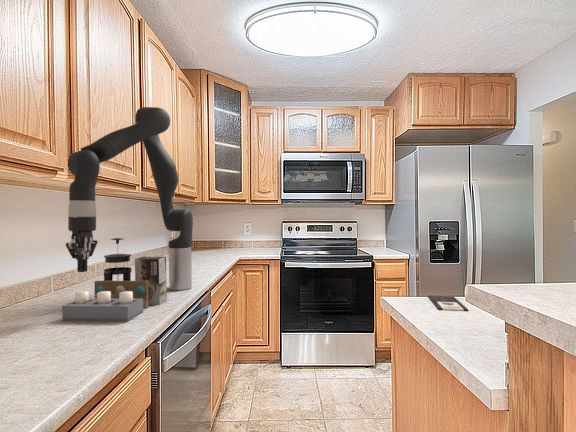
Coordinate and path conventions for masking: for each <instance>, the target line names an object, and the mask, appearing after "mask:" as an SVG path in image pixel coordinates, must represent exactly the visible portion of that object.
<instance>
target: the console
mask: <svg viewBox="0 0 576 432" xmlns="http://www.w3.org/2000/svg"><path fill="white" fill-rule="evenodd" d="M61 313H62V317H61V319H62V320H61V321H62V322H108V323H109V322H112V323H113V322H115V323H116V322H119V323H120V322H121V323H122V322H123V323H124V322H126V323H127V322H130V321H132V320H133V319H135V318H136V317H138V316H140V315H142V314H143V313H144V308H143V298H133V303H131V304H119V298H111V302H110V303H108V304H97V298H95V297H89V302H88V303H86V304H75V300H74V301H72V302H69V303H66V304H64V305H62V306H61Z"/></svg>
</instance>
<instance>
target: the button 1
mask: <svg viewBox="0 0 576 432" xmlns="http://www.w3.org/2000/svg"><path fill="white" fill-rule="evenodd" d="M89 298H90V291H89V290H80V291H75V292H74V301H75V304H86V303H88V302H89Z"/></svg>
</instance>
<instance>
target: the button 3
mask: <svg viewBox="0 0 576 432" xmlns="http://www.w3.org/2000/svg"><path fill="white" fill-rule="evenodd" d="M131 303H133V292H132V291H124V292H120V293H119V304H131Z"/></svg>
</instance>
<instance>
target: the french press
mask: <svg viewBox="0 0 576 432" xmlns="http://www.w3.org/2000/svg"><path fill="white" fill-rule="evenodd" d="M123 240H124V238H122V237H115V238H111V241H115V244H116V253H111V254H107V255H103V258H104V263H106V264H107V263H108V264H116V266H115V267H110V268H109V267H108V268H105V269H103V281H114V280H113V276H115V275H116V276H117V280H116V281H120V280H119V278H120V277H119V275H122V281H132V279H131V277H132V276H131V275H132V270H133V269H132V267H129V266H128V267H126V266H119V264H120V263H126V262H127V263H128V262H131V256H132V254H130V253H119V243H120V241H123Z"/></svg>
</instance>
